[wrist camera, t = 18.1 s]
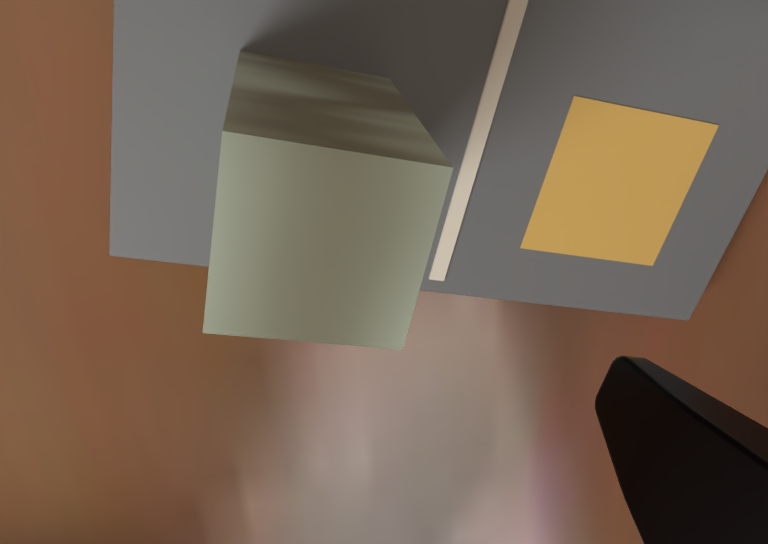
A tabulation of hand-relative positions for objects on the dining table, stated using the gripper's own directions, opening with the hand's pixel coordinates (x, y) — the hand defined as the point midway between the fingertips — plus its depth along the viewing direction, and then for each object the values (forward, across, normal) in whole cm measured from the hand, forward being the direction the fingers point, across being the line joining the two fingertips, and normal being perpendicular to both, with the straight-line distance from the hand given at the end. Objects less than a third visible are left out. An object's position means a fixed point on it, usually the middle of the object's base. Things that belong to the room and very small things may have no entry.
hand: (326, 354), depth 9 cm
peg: (+10, 0, 0) cm, 10 cm away
